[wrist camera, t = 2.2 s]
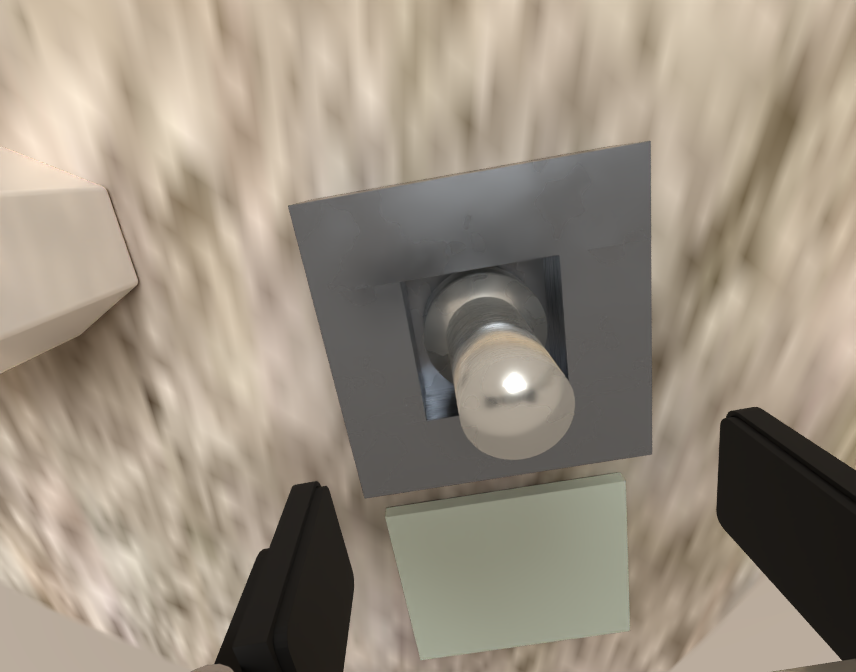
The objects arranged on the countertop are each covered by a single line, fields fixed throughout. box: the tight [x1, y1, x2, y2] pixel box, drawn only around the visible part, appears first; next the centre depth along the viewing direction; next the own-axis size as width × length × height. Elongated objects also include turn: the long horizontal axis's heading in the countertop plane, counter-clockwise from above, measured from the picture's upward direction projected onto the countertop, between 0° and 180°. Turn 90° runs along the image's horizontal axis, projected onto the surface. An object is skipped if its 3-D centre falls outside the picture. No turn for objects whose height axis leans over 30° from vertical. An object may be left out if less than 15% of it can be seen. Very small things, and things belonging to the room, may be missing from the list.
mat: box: [385, 472, 630, 660], centre depth 29 cm, size 14×12×1 cm
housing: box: [288, 141, 652, 498], centre depth 22 cm, size 14×14×4 cm
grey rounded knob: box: [424, 266, 575, 460], centre depth 19 cm, size 6×6×9 cm
